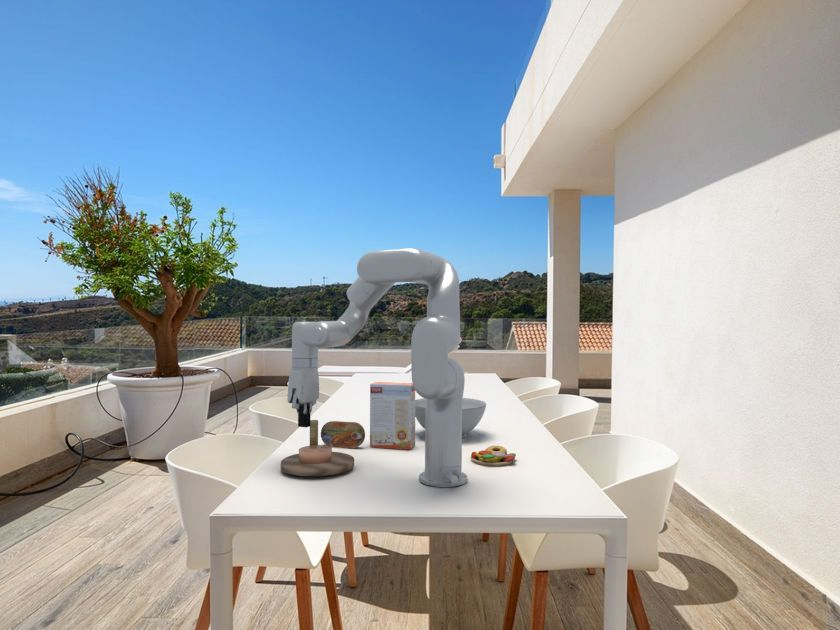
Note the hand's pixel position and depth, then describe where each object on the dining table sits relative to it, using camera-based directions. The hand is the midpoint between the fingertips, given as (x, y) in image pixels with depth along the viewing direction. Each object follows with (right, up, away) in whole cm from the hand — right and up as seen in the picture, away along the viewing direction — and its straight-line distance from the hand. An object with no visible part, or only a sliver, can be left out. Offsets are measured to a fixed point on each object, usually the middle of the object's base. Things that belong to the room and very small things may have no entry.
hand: (304, 426), depth 156 cm
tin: (+9, -11, +18) cm, 23 cm away
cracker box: (+25, -11, +19) cm, 33 cm away
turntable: (+6, -10, -8) cm, 14 cm away
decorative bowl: (+44, -11, +35) cm, 57 cm away
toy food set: (+56, -11, +2) cm, 57 cm away
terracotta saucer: (+5, -8, -7) cm, 12 cm away
